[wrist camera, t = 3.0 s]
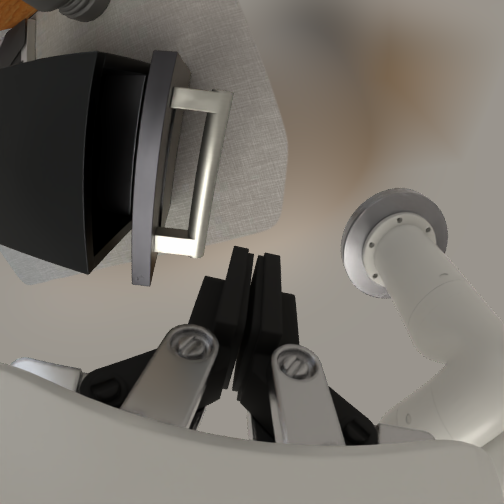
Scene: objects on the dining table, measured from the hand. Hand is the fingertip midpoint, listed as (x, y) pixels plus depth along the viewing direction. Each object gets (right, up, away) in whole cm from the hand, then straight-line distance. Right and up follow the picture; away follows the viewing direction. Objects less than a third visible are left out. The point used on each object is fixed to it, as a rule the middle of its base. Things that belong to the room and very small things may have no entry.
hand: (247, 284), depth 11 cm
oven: (-20, +17, +22) cm, 34 cm away
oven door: (-8, +15, +23) cm, 29 cm away
